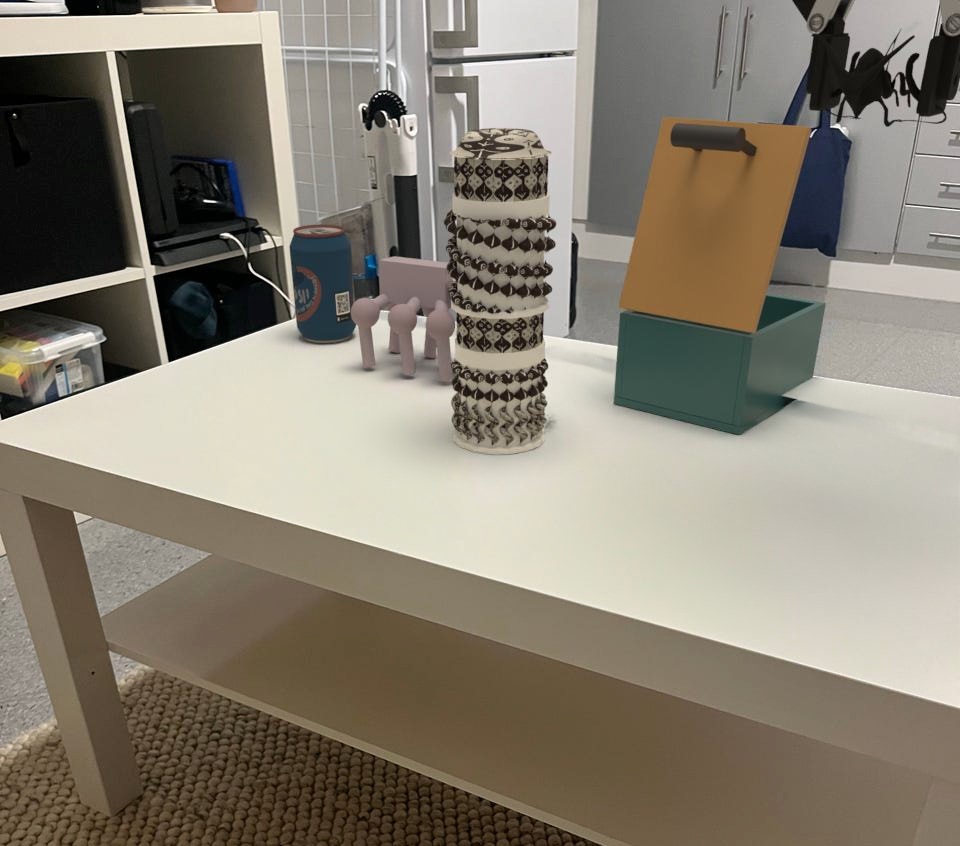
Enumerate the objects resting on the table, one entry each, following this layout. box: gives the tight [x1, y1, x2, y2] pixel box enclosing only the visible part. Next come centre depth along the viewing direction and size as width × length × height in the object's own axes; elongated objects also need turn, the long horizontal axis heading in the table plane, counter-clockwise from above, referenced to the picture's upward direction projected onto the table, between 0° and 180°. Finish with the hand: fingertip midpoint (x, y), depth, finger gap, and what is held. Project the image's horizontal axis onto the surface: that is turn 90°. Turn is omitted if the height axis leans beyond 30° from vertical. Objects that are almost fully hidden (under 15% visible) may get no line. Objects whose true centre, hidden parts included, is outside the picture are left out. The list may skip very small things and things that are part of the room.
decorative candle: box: [443, 127, 557, 455], centre depth 85 cm, size 9×9×25 cm
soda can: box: [288, 224, 357, 344], centre depth 117 cm, size 7×7×12 cm
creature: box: [810, 29, 948, 128], centre depth 60 cm, size 8×5×8 cm
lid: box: [618, 116, 812, 334], centre depth 87 cm, size 16×14×5 cm
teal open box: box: [613, 292, 827, 435], centre depth 99 cm, size 16×14×9 cm
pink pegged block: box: [351, 255, 456, 382], centre depth 105 cm, size 20×11×14 cm, turn 62°
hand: (876, 108), depth 61 cm, fingers closed on creature, 5 cm apart
